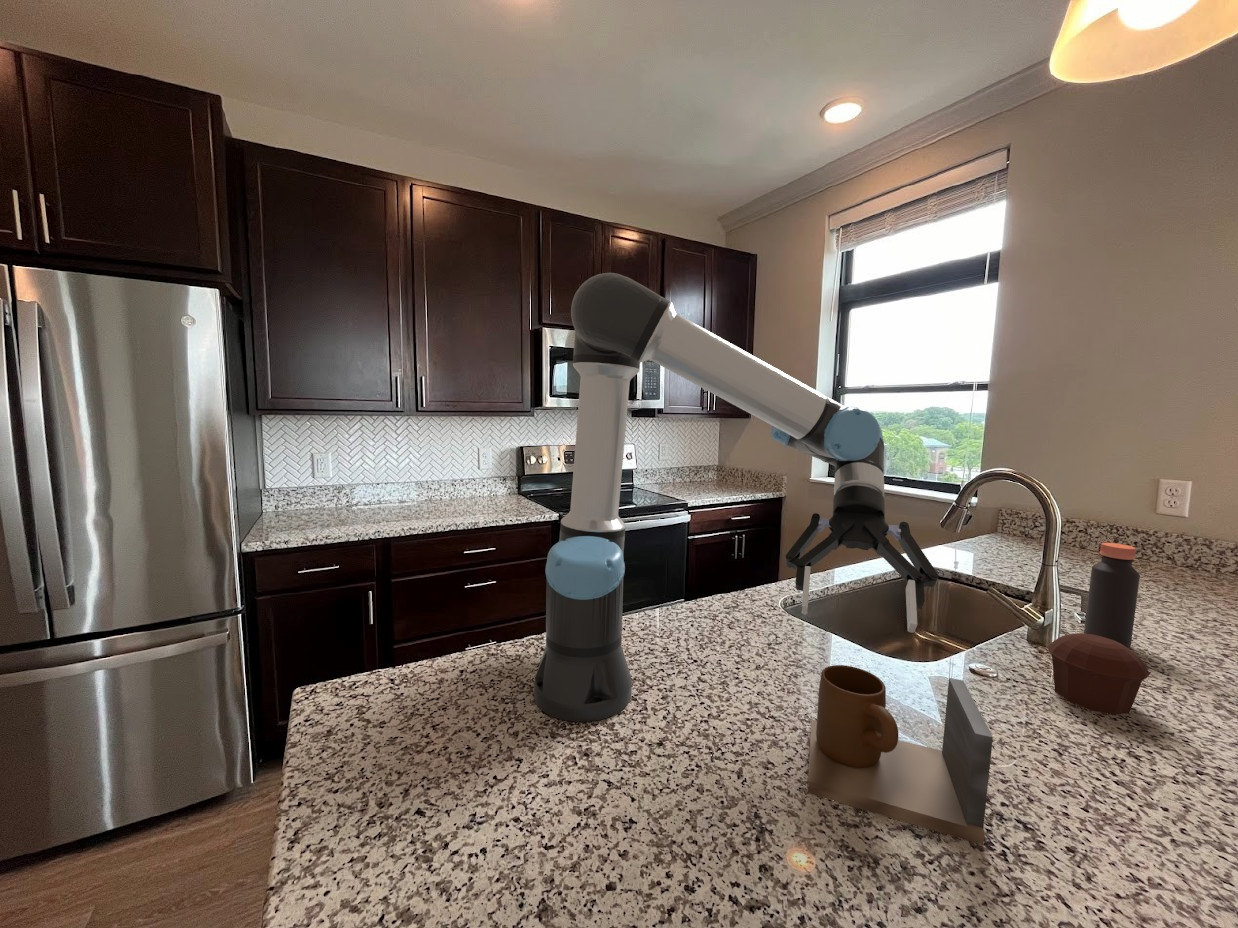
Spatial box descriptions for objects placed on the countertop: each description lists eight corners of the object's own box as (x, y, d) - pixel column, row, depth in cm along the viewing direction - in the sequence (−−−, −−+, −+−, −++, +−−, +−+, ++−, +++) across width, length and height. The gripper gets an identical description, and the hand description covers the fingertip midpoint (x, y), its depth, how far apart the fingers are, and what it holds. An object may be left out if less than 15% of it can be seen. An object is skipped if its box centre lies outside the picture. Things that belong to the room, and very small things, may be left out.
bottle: (1124, 641, 101) (1136, 544, 99) (1135, 654, 95) (1149, 552, 93) (1079, 632, 104) (1090, 539, 102) (1088, 644, 99) (1099, 546, 97)
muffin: (1040, 698, 79) (1047, 637, 78) (1043, 672, 87) (1050, 618, 86) (1149, 731, 71) (1158, 664, 70) (1141, 700, 79) (1149, 640, 78)
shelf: (807, 793, 58) (813, 699, 56) (810, 729, 69) (816, 650, 68) (983, 845, 51) (994, 740, 50) (953, 764, 63) (962, 678, 62)
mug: (921, 796, 55) (928, 717, 54) (857, 801, 54) (864, 720, 54) (857, 729, 67) (862, 662, 66) (804, 732, 66) (809, 664, 65)
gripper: (942, 518, 79) (956, 647, 67) (779, 503, 89) (765, 614, 76) (953, 489, 74) (970, 624, 61) (778, 477, 83) (762, 592, 71)
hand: (856, 619), depth 69 cm, fingers open, 13 cm apart
